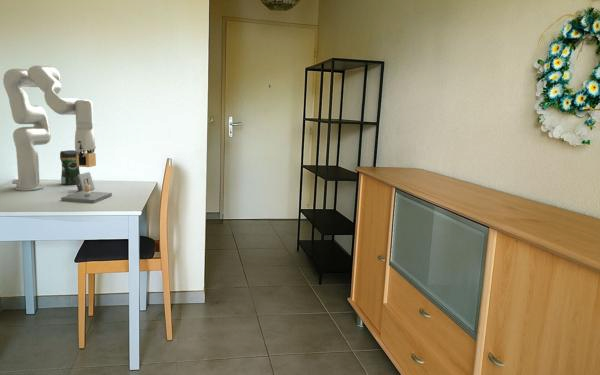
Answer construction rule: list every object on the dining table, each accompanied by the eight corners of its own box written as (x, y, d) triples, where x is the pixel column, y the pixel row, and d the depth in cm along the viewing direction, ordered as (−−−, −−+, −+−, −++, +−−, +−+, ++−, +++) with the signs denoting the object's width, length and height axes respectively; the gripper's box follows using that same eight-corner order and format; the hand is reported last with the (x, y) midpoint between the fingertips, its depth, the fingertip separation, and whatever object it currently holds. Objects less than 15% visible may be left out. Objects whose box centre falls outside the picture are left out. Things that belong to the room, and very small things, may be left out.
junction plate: (61, 200, 219) (60, 187, 218) (81, 193, 236) (81, 181, 234) (93, 203, 218) (93, 189, 216) (111, 195, 234) (111, 183, 233)
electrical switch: (84, 192, 239) (81, 174, 237) (75, 192, 240) (72, 174, 238) (94, 189, 248) (92, 172, 247) (86, 189, 249) (84, 172, 247)
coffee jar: (76, 181, 265) (75, 149, 262) (83, 184, 260) (81, 150, 256) (59, 183, 258) (57, 150, 254) (64, 185, 253) (63, 151, 249)
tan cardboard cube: (77, 166, 221) (76, 153, 220) (84, 164, 227) (83, 152, 226) (89, 167, 220) (88, 154, 219) (95, 165, 226) (95, 153, 225)
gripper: (87, 125, 229) (88, 161, 232) (66, 126, 212) (68, 166, 215) (101, 125, 228) (103, 162, 232) (82, 127, 211) (84, 167, 215)
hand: (86, 163), depth 223 cm, fingers closed on tan cardboard cube, 5 cm apart
